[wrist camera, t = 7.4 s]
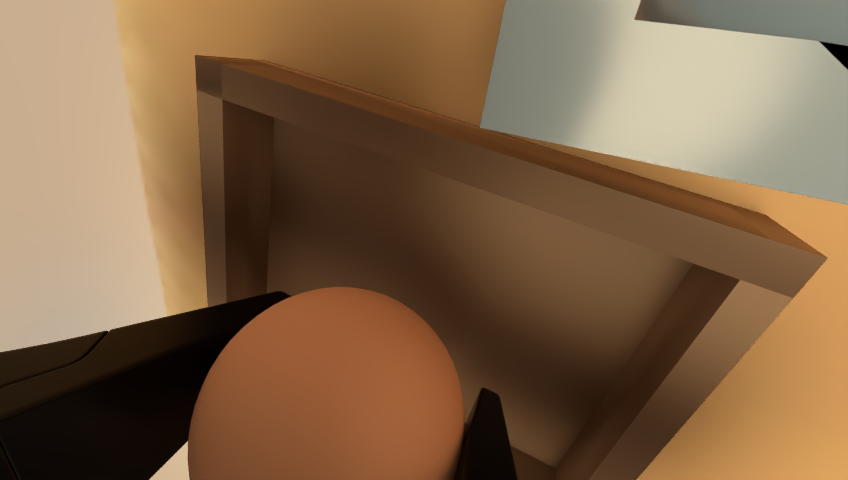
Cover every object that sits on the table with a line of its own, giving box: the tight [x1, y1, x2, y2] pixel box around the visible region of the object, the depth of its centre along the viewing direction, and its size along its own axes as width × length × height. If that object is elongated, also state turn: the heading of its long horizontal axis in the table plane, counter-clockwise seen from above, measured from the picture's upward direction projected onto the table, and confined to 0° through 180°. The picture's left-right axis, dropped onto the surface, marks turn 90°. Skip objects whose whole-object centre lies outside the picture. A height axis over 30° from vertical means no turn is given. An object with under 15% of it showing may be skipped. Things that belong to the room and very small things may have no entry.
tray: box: [195, 55, 827, 480], centre depth 11 cm, size 10×13×2 cm
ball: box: [188, 287, 465, 480], centre depth 7 cm, size 5×5×5 cm
